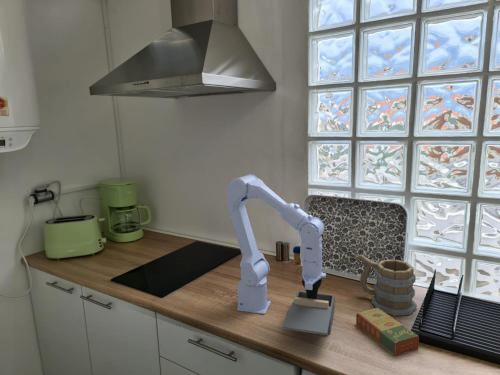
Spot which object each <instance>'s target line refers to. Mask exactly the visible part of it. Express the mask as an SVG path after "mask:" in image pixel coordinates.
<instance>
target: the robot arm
mask: <svg viewBox="0 0 500 375" xmlns="http://www.w3.org/2000/svg"><path fill="white" fill-rule="evenodd" d="M226 191H227V201H226V206H227V209H228V211H229V212H228V213H229V215H230V219H231V222H232V226H233V229H234V232H235V236H236V240H237V243H238V246H239V249H240V253H241V256H242V257H241V260H240V262H239V263H240V264H239V267H240V280H239V282H238V285H237V293H236V294H237V309H236V310H237V311H239V312H240V311H241V312H246V313H247V312H248V313H255V314H259V315H260V314H261V315H265V314H266V312H267V310H268V309H269V307H270V305H271V303H272V301H271V300H268V287H267V286H268V285H267V284H268V281H267V275H268V274H270V271H271V270H270V269H271V267H270V264H269V262H268V260H267V259H266V257H265V256H264V254H263V253H262V252H261V251H259V248H258V246H257V242H256V238H255V235H254V231H253V228H252V224H251V222H250V218H249V215H248V211H247V208H246V205H247V203H248V201H249V200H250V199H260V200H262V201H263V203H264V202H265V203H266V204H268V205H269V206H270V207H272V208H273V209H274V210H276V211H277V212H279V213H280V214H279V215H280V218H281V219H282V220H283V221H284V222H286V223H287V224H288V225H289V226H291V227H292V228H294V229H295V230H296V231H297V232H298V233H299V237H300V239H301V240H302V248H301V250H302V253H301V254H302V256H301V257H302V259H301V261H302V272H301V276H302V280H301V284H302V286H303V287H304V291H305V292H306V293H307V298H308V299H317V293H319V288H320V287H321V285H322V282H323V278H326V277H327V274H326V272H323V244H322V242H323V240H322V239H323V236H322V234H324V232H325V223H323V221H322V220H321V219H320V218H319V217H317V216H313V215H311V214H308V213H307V212H305V211H303V209H301V207H300V206H301V205H299V204H298V203H294V202H290V203H287V202H286V201H285V200H284V199H282V198H281V197H280V196H279V195H277V193H276V192H274V191H273V190H272V189H271V188H269V187H268V186H267V185H266V184H265V182H263V180H262V179H260V178H258V177H257V176H256V175H254V174H250V173H249V174H245V175H244V176H240V177H236V178H233V179H231V181H230V182H229V184H228V185H227V187H226Z"/></svg>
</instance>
